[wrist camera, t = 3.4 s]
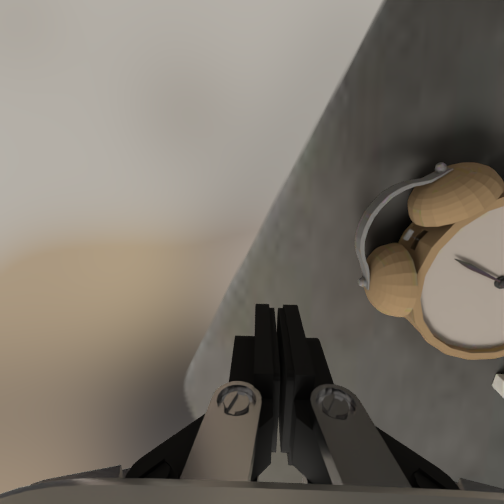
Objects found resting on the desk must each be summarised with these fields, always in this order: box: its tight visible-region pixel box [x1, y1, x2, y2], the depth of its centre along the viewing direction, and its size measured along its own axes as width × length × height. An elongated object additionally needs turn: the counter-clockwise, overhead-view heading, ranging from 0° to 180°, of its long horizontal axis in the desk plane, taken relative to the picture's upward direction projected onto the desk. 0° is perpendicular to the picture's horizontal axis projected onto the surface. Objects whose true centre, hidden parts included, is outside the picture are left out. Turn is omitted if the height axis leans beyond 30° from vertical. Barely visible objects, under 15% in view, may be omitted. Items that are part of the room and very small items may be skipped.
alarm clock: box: [355, 162, 504, 360], centre depth 19 cm, size 11×5×15 cm
